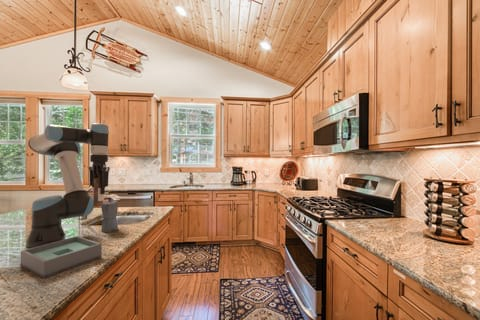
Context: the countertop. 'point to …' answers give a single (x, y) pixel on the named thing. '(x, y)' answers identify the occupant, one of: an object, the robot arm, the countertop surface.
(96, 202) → the walnut peg
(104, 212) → the moka pot
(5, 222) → the countertop surface
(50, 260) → the bore box
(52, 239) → the robot arm
